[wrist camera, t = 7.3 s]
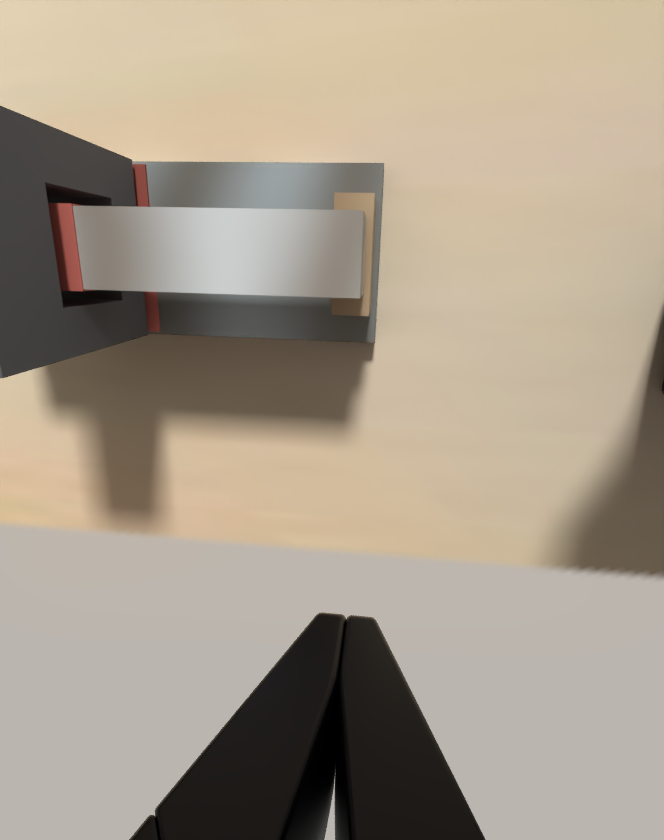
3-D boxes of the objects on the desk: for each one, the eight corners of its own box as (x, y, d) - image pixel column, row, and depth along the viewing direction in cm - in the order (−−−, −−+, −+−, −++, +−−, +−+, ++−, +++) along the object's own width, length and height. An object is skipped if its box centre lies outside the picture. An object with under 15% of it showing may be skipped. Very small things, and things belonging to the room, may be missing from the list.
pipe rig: (384, 167, 17) (383, 124, 12) (374, 339, 19) (371, 368, 13) (10, 165, 18) (-139, 125, 13) (37, 325, 20) (-84, 347, 15)
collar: (131, 159, 17) (-56, 83, 10) (148, 334, 18) (2, 378, 11) (50, 159, 17) (-190, 84, 10) (74, 331, 19) (-112, 372, 12)
